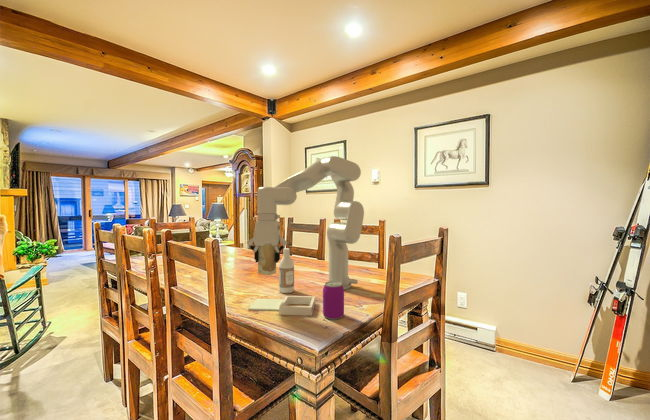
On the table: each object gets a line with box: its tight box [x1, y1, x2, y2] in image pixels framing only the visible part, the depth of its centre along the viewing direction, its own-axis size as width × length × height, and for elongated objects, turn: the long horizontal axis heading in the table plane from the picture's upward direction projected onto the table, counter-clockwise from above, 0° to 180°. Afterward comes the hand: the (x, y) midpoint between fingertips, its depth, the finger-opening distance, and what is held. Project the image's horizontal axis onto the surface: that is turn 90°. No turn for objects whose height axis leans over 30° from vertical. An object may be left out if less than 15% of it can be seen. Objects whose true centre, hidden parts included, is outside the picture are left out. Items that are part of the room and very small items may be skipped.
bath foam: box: [278, 247, 295, 294], centre depth 129 cm, size 7×7×20 cm
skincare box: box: [257, 244, 277, 276], centre depth 112 cm, size 6×4×12 cm
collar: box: [278, 295, 316, 316], centre depth 108 cm, size 12×12×3 cm
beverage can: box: [322, 280, 345, 321], centre depth 101 cm, size 8×8×12 cm
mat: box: [248, 298, 284, 312], centre depth 112 cm, size 12×11×1 cm
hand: (267, 261), depth 112 cm, fingers closed on skincare box, 7 cm apart
